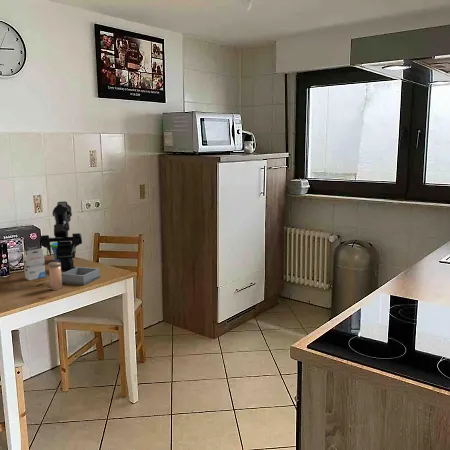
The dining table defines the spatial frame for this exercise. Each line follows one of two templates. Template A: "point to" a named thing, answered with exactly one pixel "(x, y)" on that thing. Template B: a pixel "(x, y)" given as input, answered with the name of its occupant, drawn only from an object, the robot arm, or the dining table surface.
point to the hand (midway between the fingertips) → (60, 254)
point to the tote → (80, 275)
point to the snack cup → (54, 246)
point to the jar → (55, 275)
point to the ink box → (34, 264)
